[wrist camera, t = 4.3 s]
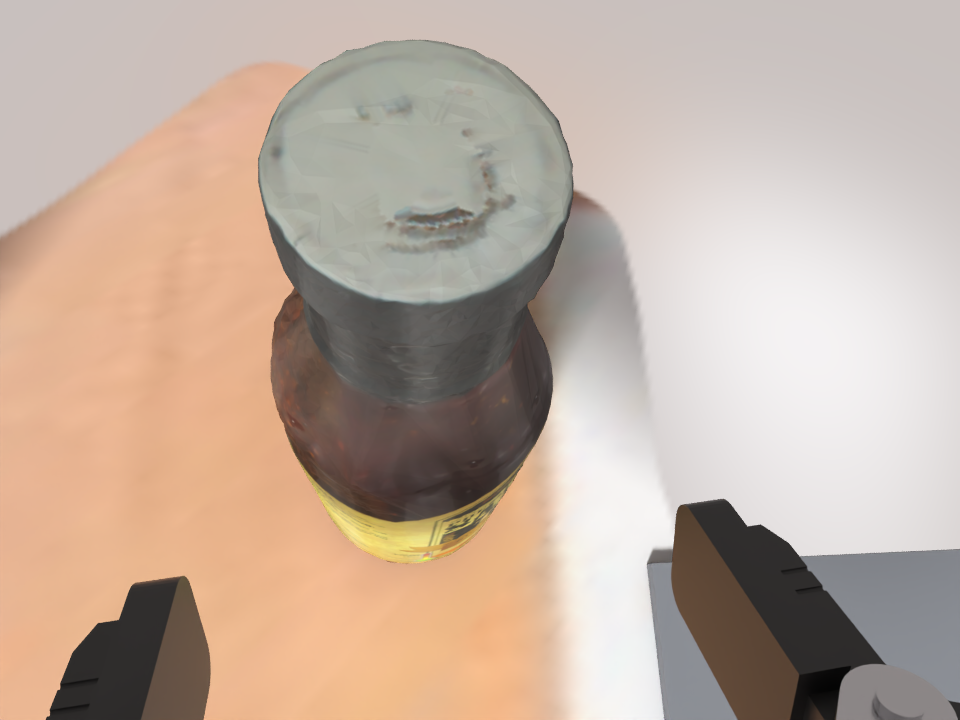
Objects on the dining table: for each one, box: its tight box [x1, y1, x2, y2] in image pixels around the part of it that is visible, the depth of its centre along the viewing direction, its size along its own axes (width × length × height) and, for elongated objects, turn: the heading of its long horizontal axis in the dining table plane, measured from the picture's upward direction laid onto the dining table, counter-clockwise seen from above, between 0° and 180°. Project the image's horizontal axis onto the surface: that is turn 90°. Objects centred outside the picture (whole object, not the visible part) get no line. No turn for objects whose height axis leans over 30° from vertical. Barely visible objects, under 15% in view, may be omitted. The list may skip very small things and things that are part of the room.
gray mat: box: [647, 549, 960, 720], centre depth 26 cm, size 16×11×1 cm
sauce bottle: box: [258, 40, 573, 564], centre depth 19 cm, size 6×6×20 cm
